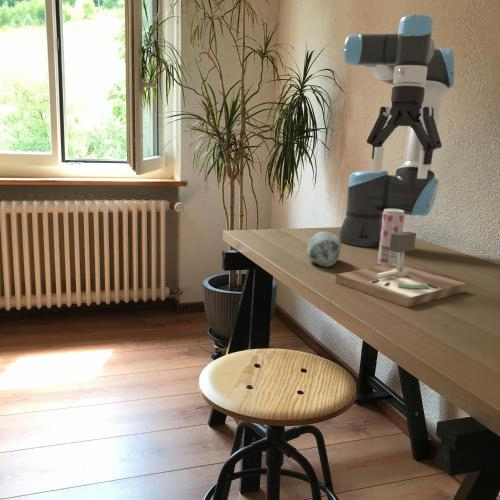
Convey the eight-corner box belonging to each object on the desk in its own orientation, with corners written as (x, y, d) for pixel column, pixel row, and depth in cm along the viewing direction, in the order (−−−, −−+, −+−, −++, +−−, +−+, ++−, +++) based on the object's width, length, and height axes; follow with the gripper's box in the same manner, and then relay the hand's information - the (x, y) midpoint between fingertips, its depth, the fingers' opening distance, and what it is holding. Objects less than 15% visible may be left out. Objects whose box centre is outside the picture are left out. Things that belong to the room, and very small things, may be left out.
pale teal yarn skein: (347, 259, 132) (332, 222, 133) (312, 273, 134) (298, 237, 135) (349, 259, 145) (335, 226, 146) (317, 272, 147) (304, 239, 148)
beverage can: (395, 262, 145) (402, 208, 142) (401, 267, 139) (407, 212, 136) (375, 261, 145) (381, 207, 142) (379, 266, 139) (386, 211, 136)
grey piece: (400, 270, 127) (405, 230, 125) (414, 274, 124) (419, 233, 122) (370, 276, 121) (375, 234, 118) (384, 281, 118) (389, 238, 115)
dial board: (393, 270, 136) (394, 261, 135) (464, 291, 121) (466, 281, 120) (335, 282, 123) (336, 272, 122) (407, 307, 107) (408, 296, 107)
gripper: (358, 86, 132) (350, 170, 136) (446, 82, 112) (433, 181, 117) (377, 88, 136) (369, 170, 141) (465, 85, 117) (452, 180, 122)
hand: (398, 175), depth 129 cm, fingers open, 13 cm apart
